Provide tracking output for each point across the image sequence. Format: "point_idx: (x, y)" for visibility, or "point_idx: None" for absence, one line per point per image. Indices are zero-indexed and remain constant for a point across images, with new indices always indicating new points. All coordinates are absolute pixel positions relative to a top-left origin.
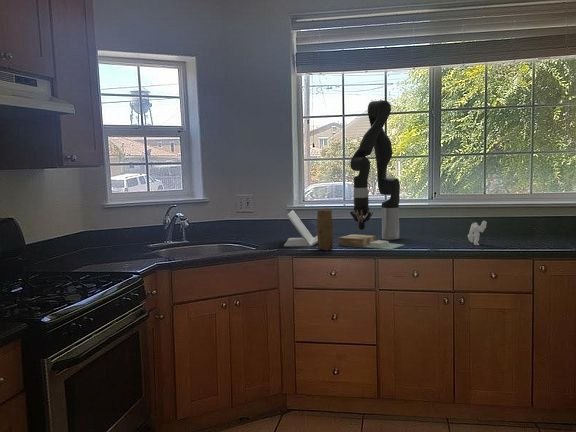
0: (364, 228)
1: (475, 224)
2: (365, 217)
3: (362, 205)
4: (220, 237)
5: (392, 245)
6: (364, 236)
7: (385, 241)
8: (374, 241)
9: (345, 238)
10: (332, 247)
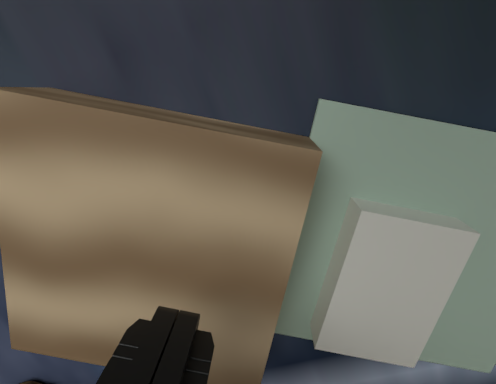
0: (210, 339)
1: None
2: None
3: None
4: None
5: (494, 234)
6: (210, 232)
7: (450, 264)
8: (343, 288)
9: (89, 360)
10: None
